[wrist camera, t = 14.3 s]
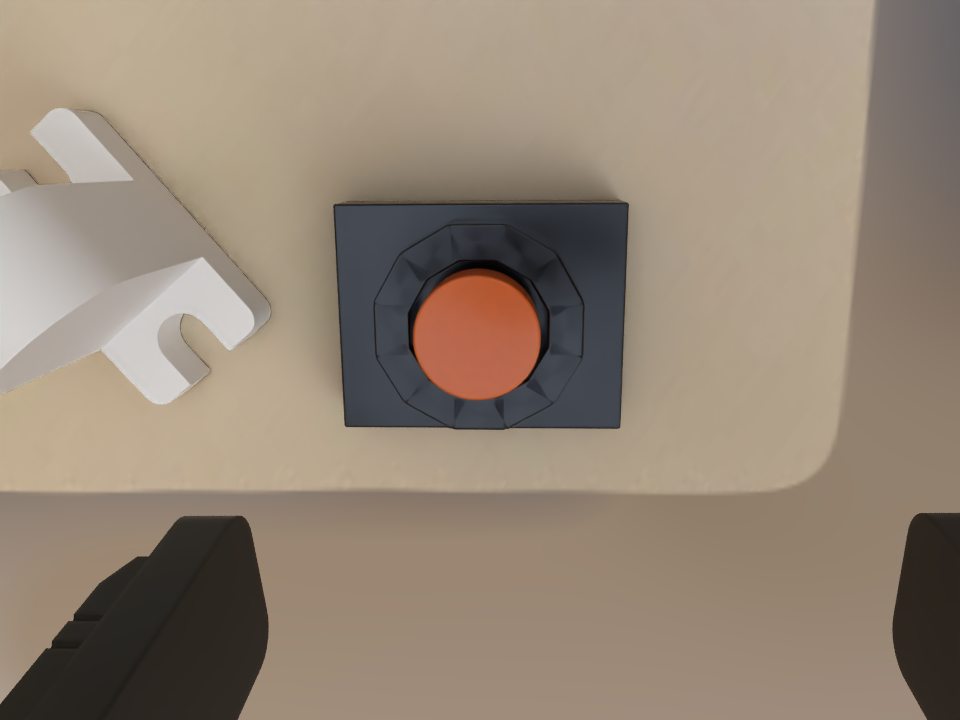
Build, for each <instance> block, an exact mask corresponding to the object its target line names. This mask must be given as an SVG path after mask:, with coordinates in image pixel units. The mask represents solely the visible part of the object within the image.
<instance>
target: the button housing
mask: <svg viewBox="0 0 960 720" xmlns="http://www.w3.org/2000/svg"><path fill="white" fill-rule="evenodd" d="M333 208H334V227H335V246H336V266H337V285H338V305H339V324H340V344H341V363H342V383H343V402H344V421H345V426H346V427H440V428H453V429H476V430H504V429H506V428H507V429H509V428H597V429H618V428H620V421H621V394H622V368H623V342H624V315H625V289H626V262H627V236H628V209H629V204H628V203H627V202H624V201H621V200H470V201H346V202H342V203H338V204H334V206H333ZM476 268H481V269H490V270H495V271H497V272H500V273H503V274H505V275H507V276H509V277H511V278H512V279H514V280H515V281H516V282H518V283H519V284H520V285H521V286H522V287H523V288H524V289H525V290H526V292H527V293H528V294H529V296H530V297H531V299H532V301H533V303H534V305H535V307H536V310H537V313H538V319H539V324H540V330H541V346H540V351H539V356H538V358H537V361H536V364H535V366H534V367H533V369H532V371H531V372H530V374H529V375H528V377H527V378H526V379H525V380H524V381H523V382H522V383H521V384H520V385H519V386H517V387H516V388H515V389H513V390H512V391H510V392H509V393H506V394H504V395H502V396H500V397H496V398H493V399H488V400H467V399H462V398H459V397H456V396H453V395H451V394H448V393H446V392H445V391H443V390H442V389H440V388H438V387H437V386H436V385H435V384H434V383H432V381H431V380H430V379H429V378H428V377H427V376H426V375H425V373H424V372H423V370H422V369H421V367H420V365H419V363H418V360H417V358H416V355H415V351H414V346H413V328H414V323H415V319H416V316H417V314H418V312H419V309H420V307H421V306H422V304H423V303H424V301H425V300H426V298H427V296H428V295H429V293H430V292H431V291H432V290H433V288H434V287H435V286H436V285H437V284H438V283H440V282H441V281H442V280H444V279H445V278H446V277H448V276H450V275H452V274H454V273H457V272H459V271H462V270H467V269H476Z"/></svg>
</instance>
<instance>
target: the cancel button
mask: <svg viewBox="0 0 960 720" xmlns="http://www.w3.org/2000/svg"><path fill="white" fill-rule="evenodd" d="M413 346H414V351H415V355H416V358H417V360H418V363H419V365H420V367H421V369H422V370H423V372H424V373H425V375H426V376H427V377H428V378H429V379H430V380H431V381H432V383H434V384H435V385H436V386H437V387H438V388H440V389H442V390H443V391H445V392H446V393H448V394H451V395H453V396H456V397H459V398H462V399H467V400H488V399H493V398H496V397H500V396H502V395H504V394H506V393H509V392H510V391H512V390H513V389H515V388H516V387H517V386H519V385H520V384H521V383H522V382H523V381H524V380H525V379H526V378H527V377H528V375H529V374H530V372H531V371H532V369H533V367H534V366H535V364H536V361H537V358H538V356H539V351H540V346H541V330H540V324H539V319H538V313H537V310H536V307H535V305H534V303H533V301H532V299H531V297H530V296H529V294H528V293H527V292H526V290H525V289H524V288H523V287H522V286H521V285H520V284H519V283H518V282H516V281H515V280H514V279H512V278H511V277H509V276H507V275H505V274H503V273H500V272H497V271H495V270H490V269H481V268H476V269H467V270H462V271H459V272H457V273H454V274H452V275H450V276H448V277H446V278H445V279H444V280H442V281H441V282H440V283H438V284H437V285H436V286H435V287H434V288H433V290H432V291H431V292H430V293H429V295H428V296H427V298H426V300H425V301H424V303H423V304H422V306H421V307H420V309H419V312H418V314H417V316H416V319H415V323H414V328H413Z"/></svg>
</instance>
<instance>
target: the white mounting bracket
mask: <svg viewBox="0 0 960 720" xmlns="http://www.w3.org/2000/svg"><path fill="white" fill-rule="evenodd" d="M30 134H31V135H32V136H33V137H34V138H35V139H36V140H37V141H38V142H39V143H40V144H41V146H42V147H43V148H44V149H45V150H46V151H47V152H48V153H49V154H50V155H51V156H52V157H53V159H54V160H55V161H56V162H57V163H58V164H59V165H60V166H61V167H62V168H63V169H64V171H65V172H66V173H67V175H68V176H69V177H70V180H71V182H72V183H67V184H46V185H38V184H37V183H36V182H35V181H34V180H33V179H32V178H31V177H30V175H29V174H28V173H27V172H26V171H25V170H0V395H1V394H4V393H6V392H9V391H11V390H13V389H15V388H18V387H20V386H22V385H24V384H26V383H29V382H31V381H33V380H35V379H37V378H40V377H42V376H44V375H46V374H49V373H51V372H53V371H55V370H57V369H60V368H62V367H64V366H66V365H68V364H71V363H73V362H75V361H77V360H79V359H82V358H84V357H86V356H88V355H90V354H93V353H95V352H97V351H99V350H101V351H102V352H103V353H104V354H105V355H106V356H107V357H108V358H109V359H110V360H111V361H112V362H113V363H114V365H115V366H116V367H117V368H118V369H119V370H120V371H121V372H122V373H123V374H124V375H125V376H126V377H127V378H128V379H129V380H130V381H131V382H132V383H133V384H134V385H135V387H136V388H137V389H138V390H139V391H140V392H141V393H142V394H143V395H144V396H145V397H146V398H147V399H148V400H149V401H151V402H152V403H154V404H158V405H165V404H168V403H170V402H171V401H173V400H174V399H176V398H177V397H179V396H180V395H181V394H183V393H184V392H186V391H187V390H189V389H190V388H191V387H193V386H194V385H195V384H196V383H198V382H199V381H200V380H201V379H202V378H203V377H204V376H206V375H207V374H208V373H209V372H210V371H211V370H210V369H209V368H208V367H207V366H206V365H205V364H204V363H203V361H202V360H201V359H200V358H199V357H198V356H197V355H196V354H195V353H194V352H193V351H192V350H191V349H190V348H189V346H188V345H187V344H186V343H185V341H184V340H183V338H182V335H181V332H180V322H181V318H182V316H183V314H188V315H192V316H194V317H196V318H198V319H199V320H200V321H201V322H203V323H204V324H205V325H206V326H207V328H208V329H209V330H210V331H211V332H212V333H213V334H214V335H215V336H216V337H217V338H218V340H219V341H220V342H221V343H222V344H223V345H224V346H225V347H226V348H227V349H228V350H229V351H230V350H232V349H233V348H235V347H236V346H238V345H239V344H241V343H242V342H244V341H245V340H247V339H248V338H249V337H250V336H252V335H253V334H254V333H255V332H256V331H257V330H258V329H260V328H261V327H262V326H263V325H264V324H265V323H266V322H267V321H268V320H269V318H270V315H271V308H270V305H269V302H268V301H267V300H266V298H265V297H264V296H263V295H262V294H261V293H260V292H259V291H258V289H257V288H256V287H255V286H254V285H253V284H252V283H251V282H250V281H249V279H248V278H247V277H246V276H245V275H244V274H243V273H242V272H241V271H240V269H239V268H238V267H237V266H236V265H235V264H234V263H233V262H232V261H231V259H230V258H229V257H228V256H227V255H226V254H225V253H224V252H223V250H222V249H221V248H220V247H219V246H218V245H217V244H216V243H215V242H214V240H213V239H212V238H211V237H210V236H209V235H208V234H207V233H206V232H205V230H204V229H203V228H202V227H201V226H200V225H199V224H198V223H197V222H196V220H195V219H194V218H193V217H192V216H191V215H190V214H189V213H188V211H187V210H186V209H185V208H184V207H183V206H182V205H181V204H180V203H179V201H178V200H177V199H176V198H175V197H174V196H173V195H172V194H171V193H170V191H169V190H168V189H167V188H166V187H165V186H164V185H163V184H162V183H161V181H160V180H159V179H158V178H157V177H156V176H155V175H154V174H153V172H152V171H151V170H150V169H149V168H148V167H147V166H146V165H145V164H144V162H143V161H142V160H141V159H140V158H139V157H138V156H137V155H136V154H135V152H134V151H133V150H132V149H131V148H130V147H129V146H128V145H127V144H126V142H125V141H124V140H123V139H122V138H121V137H120V136H119V135H118V133H117V132H116V131H115V130H114V129H113V128H112V127H111V126H110V125H109V123H108V122H107V121H106V120H105V119H104V118H103V117H102V116H101V115H99V114H98V113H95V112H91V111H82V110H74V109H66V108H56V109H53V110H52V111H50V112H49V113H48V114H47V115H46V116H45V117H44V118H43V119H42V120H41V121H40V122H39V123H38V124H37V125H36V126H35V127H34V128H33V129H32V130H31V131H30Z"/></svg>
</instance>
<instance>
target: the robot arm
mask: <svg viewBox="0 0 960 720" xmlns="http://www.w3.org/2000/svg"><path fill="white" fill-rule="evenodd" d="M892 630H893V643H894V649H895V654H896V658H897V661H898V665H899V668H900V670H901V672H902V675H903V677H904V679H905V681H906V682H907V684H908V686H909V688H910V689H911V691H912V693H913V695H914V697H915V699H916V700H917V702H918V704H919V706H920V708H921V709H922V711H923V713H924V715H925V716H926V718H927V720H960V513H919V514H917V515H916V516H915V517H914V518H913V519H912V521H911V523H910V526H909V529H908V535H907V540H906V546H905V551H904V558H903V563H902V569H901V575H900V581H899V587H898V593H897V599H896V605H895V611H894V616H893V629H892ZM267 642H268V614H267V608H266V603H265V598H264V593H263V588H262V583H261V578H260V573H259V568H258V563H257V558H256V553H255V548H254V542H253V538H252V533H251V529H250V526H249V523H248V522H247V520H246V519H245V518H244V517H242V516H183V517H181V518H179V519H178V520H177V521H176V522H175V523H174V524H173V526H172V527H171V528H170V530H169V531H168V532H167V534H166V535H165V536H164V537H163V539H162V540H161V541H160V543H159V544H158V545H157V547H156V548H155V549H154V550H153V552H152V553H151V554H150V556H149V557H136V558H135V559H133V560H132V561H130V562H129V563H128V564H126V565H125V566H123V567H122V568H121V569H119V570H118V571H116V572H115V573H113V574H112V575H111V576H109V577H108V578H106V579H105V580H104V581H102V582H101V583H99V585H98V586H97V587H96V588H95V590H94V591H93V592H92V593H91V594H90V596H89V597H88V598H87V599H86V600H85V602H84V603H83V604H82V605H81V607H80V608H79V609H78V610H77V612H76V613H75V614H74V620H73V621H68V622H67V624H66V625H65V626H64V627H63V628H62V630H61V631H60V632H59V633H58V635H57V636H56V637H55V638H54V639H53V641H52V647H51V648H50V649H48V648H47V649H45V651H44V652H43V653H42V654H41V655H40V656H39V658H38V659H37V660H36V661H35V663H34V664H33V665H32V666H31V667H30V669H29V670H28V671H27V672H26V674H25V675H24V676H23V677H22V679H21V680H20V681H19V682H18V683H17V684H16V686H15V687H14V688H13V689H12V691H11V692H10V693H9V694H8V695H7V697H6V698H5V699H4V700H3V701H2V703H1V704H0V720H238V718H239V715H240V713H241V711H242V709H243V706H244V704H245V702H246V700H247V698H248V696H249V693H250V691H251V689H252V687H253V685H254V682H255V680H256V678H257V676H258V674H259V671H260V669H261V666H262V664H263V661H264V658H265V654H266V649H267Z"/></svg>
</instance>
